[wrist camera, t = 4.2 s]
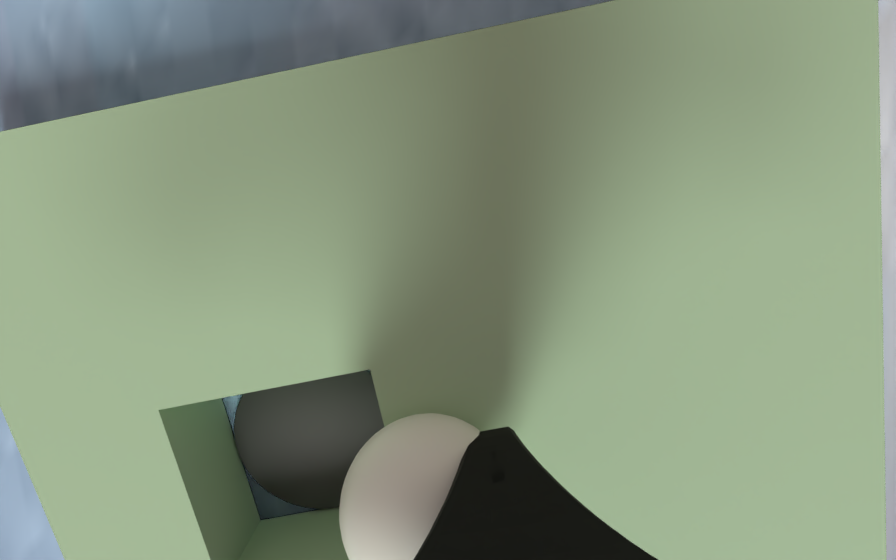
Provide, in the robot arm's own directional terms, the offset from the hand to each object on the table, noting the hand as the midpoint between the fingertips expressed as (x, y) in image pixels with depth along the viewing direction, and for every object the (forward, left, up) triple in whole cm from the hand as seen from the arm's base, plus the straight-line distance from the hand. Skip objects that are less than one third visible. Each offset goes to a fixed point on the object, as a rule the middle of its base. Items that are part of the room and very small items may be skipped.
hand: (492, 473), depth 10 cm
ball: (+1, 0, 0) cm, 1 cm away
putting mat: (+1, 0, -4) cm, 4 cm away
